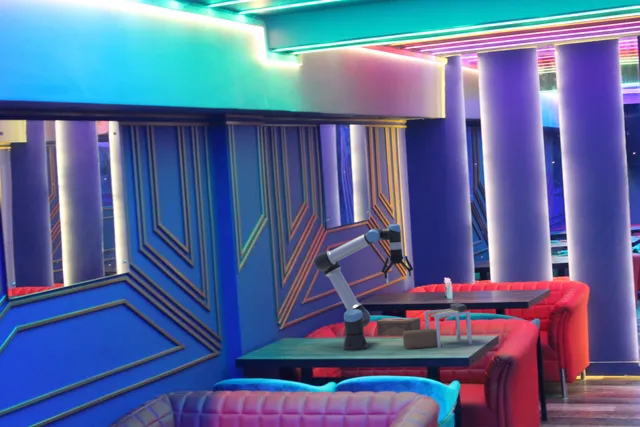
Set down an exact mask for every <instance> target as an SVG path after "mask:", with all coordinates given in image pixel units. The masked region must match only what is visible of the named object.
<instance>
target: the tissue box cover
mask: <svg viewBox="0 0 640 427" xmlns="http://www.w3.org/2000/svg"><path fill="white" fill-rule="evenodd" d="M421 328H422V327H421V318H420V317H384V318H381V319H378V320H376V334H377V336H381V337H382V336H384V337H385V336H389V337H390V336H399V337H400V336H401V337H403V331H410V330H422V329H421Z"/></svg>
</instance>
